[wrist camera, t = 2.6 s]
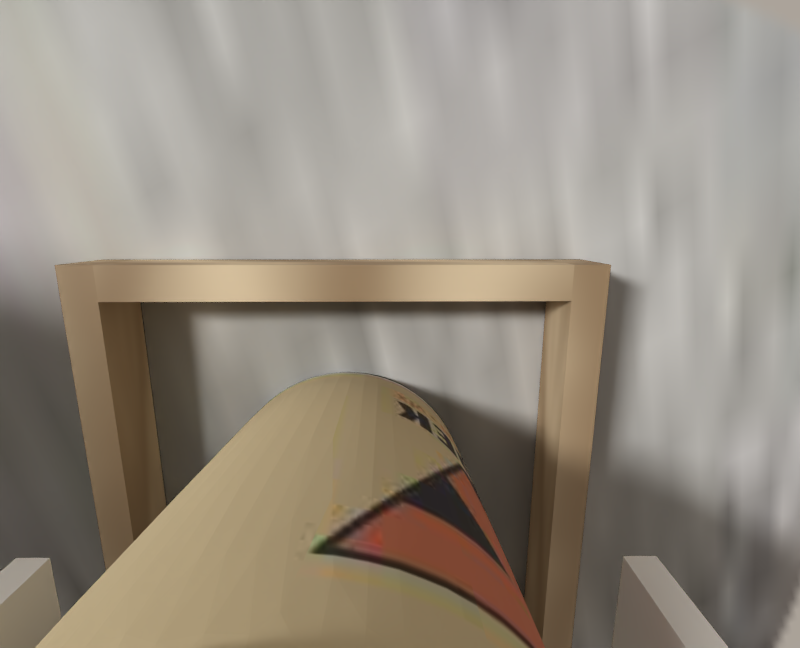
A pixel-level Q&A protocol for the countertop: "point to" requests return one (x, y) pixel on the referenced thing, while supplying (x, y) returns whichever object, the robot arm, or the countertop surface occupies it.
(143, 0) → the countertop surface
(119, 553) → the oak frame
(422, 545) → the coffee cup
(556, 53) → the countertop surface
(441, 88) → the countertop surface
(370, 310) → the countertop surface
